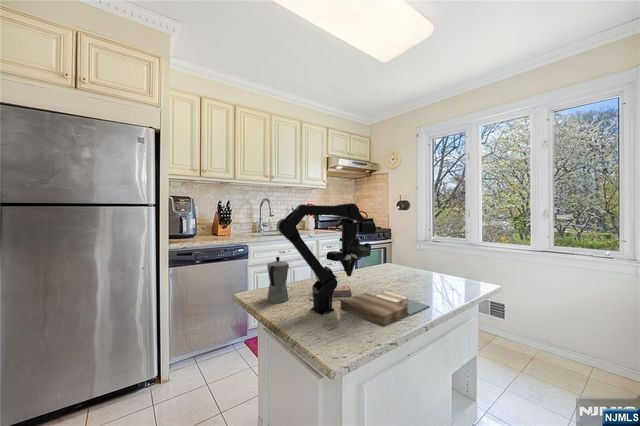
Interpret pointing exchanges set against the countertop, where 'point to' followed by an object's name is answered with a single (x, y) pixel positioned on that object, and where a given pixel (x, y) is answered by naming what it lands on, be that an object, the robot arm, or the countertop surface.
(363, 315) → the block
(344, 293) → the packaged product
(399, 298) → the cream flat block
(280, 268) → the coffeepot
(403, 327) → the countertop surface
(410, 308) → the mat
